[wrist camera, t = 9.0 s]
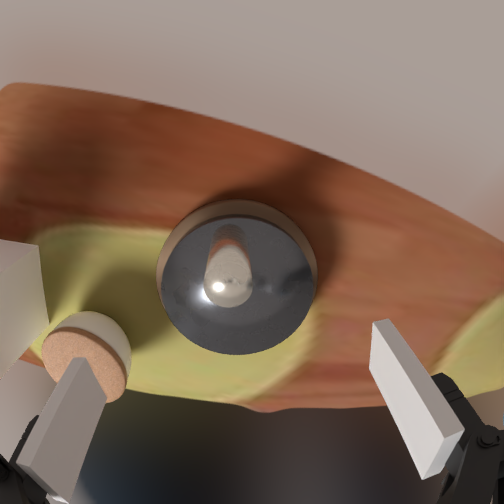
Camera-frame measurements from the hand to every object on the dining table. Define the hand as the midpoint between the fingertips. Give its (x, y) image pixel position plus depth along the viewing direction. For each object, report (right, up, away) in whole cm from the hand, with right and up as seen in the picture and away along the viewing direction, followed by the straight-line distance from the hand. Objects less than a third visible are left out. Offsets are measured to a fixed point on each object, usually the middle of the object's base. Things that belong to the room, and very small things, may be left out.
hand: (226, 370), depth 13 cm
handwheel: (0, +2, +20) cm, 20 cm away
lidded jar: (-18, -5, +24) cm, 31 cm away
